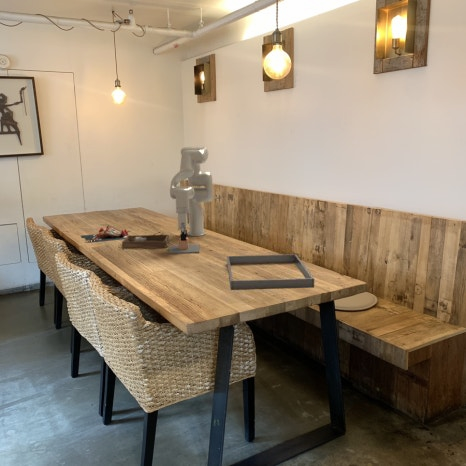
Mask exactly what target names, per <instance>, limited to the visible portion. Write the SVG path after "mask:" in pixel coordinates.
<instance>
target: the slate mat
mask: <svg viewBox="0 0 466 466" xmlns="http://www.w3.org/2000/svg"><path fill="white" fill-rule="evenodd" d="M188 245H189V248H188V249H179V244H172V245H171V244H170V245H169V247H168V249H167V252H166V254H168V255H170V254H171V255H175V254H180V255H181V254H200V248H201V245H200V244H188Z"/></svg>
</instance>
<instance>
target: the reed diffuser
mask: <svg viewBox="0 0 466 466" xmlns="http://www.w3.org/2000/svg"><path fill="white" fill-rule="evenodd" d="M159 233H161V231H159V232H157V233H155V234H151V235H152V236H153V235H157V236H159V235H164V233H162V234H159ZM150 237H151V236H149V237H147V238H150ZM153 237H154V236H153ZM165 239H166V238H165ZM146 240H149V239H146V238H142V237H135V238H134V242H138V241H146ZM156 241H161V240H156Z"/></svg>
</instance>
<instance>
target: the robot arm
mask: <svg viewBox="0 0 466 466" xmlns="http://www.w3.org/2000/svg"><path fill="white" fill-rule="evenodd" d="M180 155H181V157H180V165H179V171H178V172H177V173H176V174H175V175H174V176H173V177H172V179H171V181H170V186H169V187H170V188H169V195H170V198H171V199H173V200H175V211H176V212H175V213H176V214H177V227H178V228H177V230H178V231H180V233H179V235H180V237H179V238H181V241H186V237H188V236H191V237H197V236H198V237H199V236H204V235H206V233H207V232H206V231H204V212H203V211H204V208H203V206H202V205H201V203H210V202H213V199H214V189H213V188H214V187H213V186H214V185H213V175H212V173H211V172H210V171H201V164H205V162H206V161H207V160H208V158H209V151H208V147H206V146H185V147H182V148H181V150H180ZM185 180H187V181H188V186H186V185H185V186H184V185H182V186H181V185H179V183H180V182H182V181H185ZM178 185H179V186H178ZM188 228H189V231H188Z"/></svg>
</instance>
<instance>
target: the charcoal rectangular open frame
mask: <svg viewBox="0 0 466 466" xmlns="http://www.w3.org/2000/svg"><path fill="white" fill-rule="evenodd" d="M278 263H279V264H281V263H282V264H283V263H285V264H287V263H294V264H295V265H296V267H297V268H298V270H299V271H300V273H301V274H302V276H303V278H301V277H299V278H272V279H271V278H267V279H266V278H265V279H238V280H237V279H236V280H235V279H234V280H233V274H232V266H231V265H242V264H243V265H244V264H245V265H247V264H278ZM226 267H227V272H228V279H229V287H230V288H229V289H230V291H241V290H243V291H246V290H248V291H250V290H276V289H277V290H279V289H280V290H281V289H284V290H285V289H308V288H309V289H310V288H311V289H313V288H315V277H314V276H313V275H312V274H311V272H310V271H309V269H308V268H307V266H306V265H305V264H304V263H303V262H302V260H301V259H300V258H299V256H298V254H296V253H295V254H293V253H291V254H290V253H289V254H259V255H257V254H256V255H255V254H254V255H252V254H251V255H227V256H226Z"/></svg>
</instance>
